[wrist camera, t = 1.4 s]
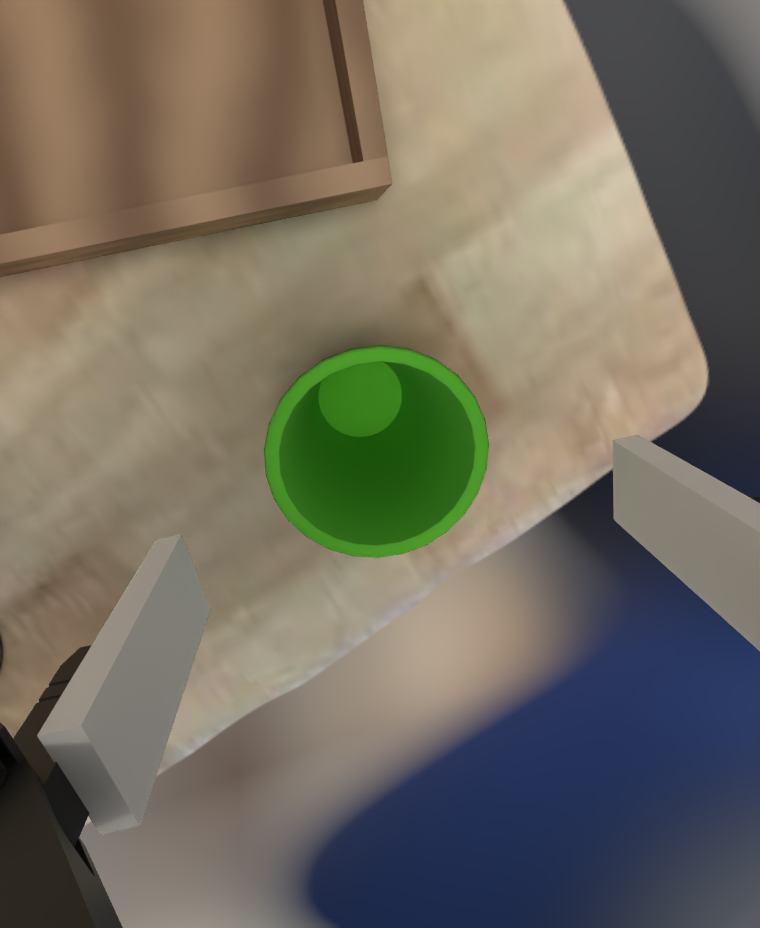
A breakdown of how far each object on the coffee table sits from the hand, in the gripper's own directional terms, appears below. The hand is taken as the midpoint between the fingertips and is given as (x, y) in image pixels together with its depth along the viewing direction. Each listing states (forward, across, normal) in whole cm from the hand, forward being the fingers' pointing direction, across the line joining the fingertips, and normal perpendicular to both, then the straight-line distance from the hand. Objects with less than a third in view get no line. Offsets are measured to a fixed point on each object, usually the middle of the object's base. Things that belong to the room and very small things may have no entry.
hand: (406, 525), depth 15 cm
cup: (+16, 0, 0) cm, 17 cm away
